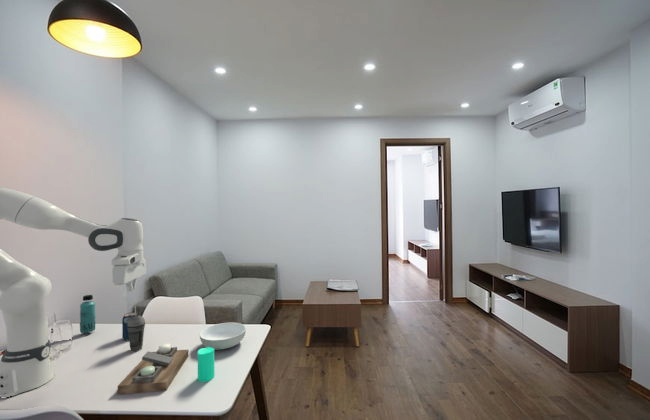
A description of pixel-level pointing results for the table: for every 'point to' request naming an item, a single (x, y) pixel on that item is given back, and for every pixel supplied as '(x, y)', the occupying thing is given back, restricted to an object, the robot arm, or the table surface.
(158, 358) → the flat grey strip
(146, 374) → the button sage
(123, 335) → the soda can
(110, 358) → the table surface
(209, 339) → the serving bowl
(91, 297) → the beverage bottle
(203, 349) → the candle
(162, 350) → the button offwhite
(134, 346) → the beverage cup
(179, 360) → the switch panel
